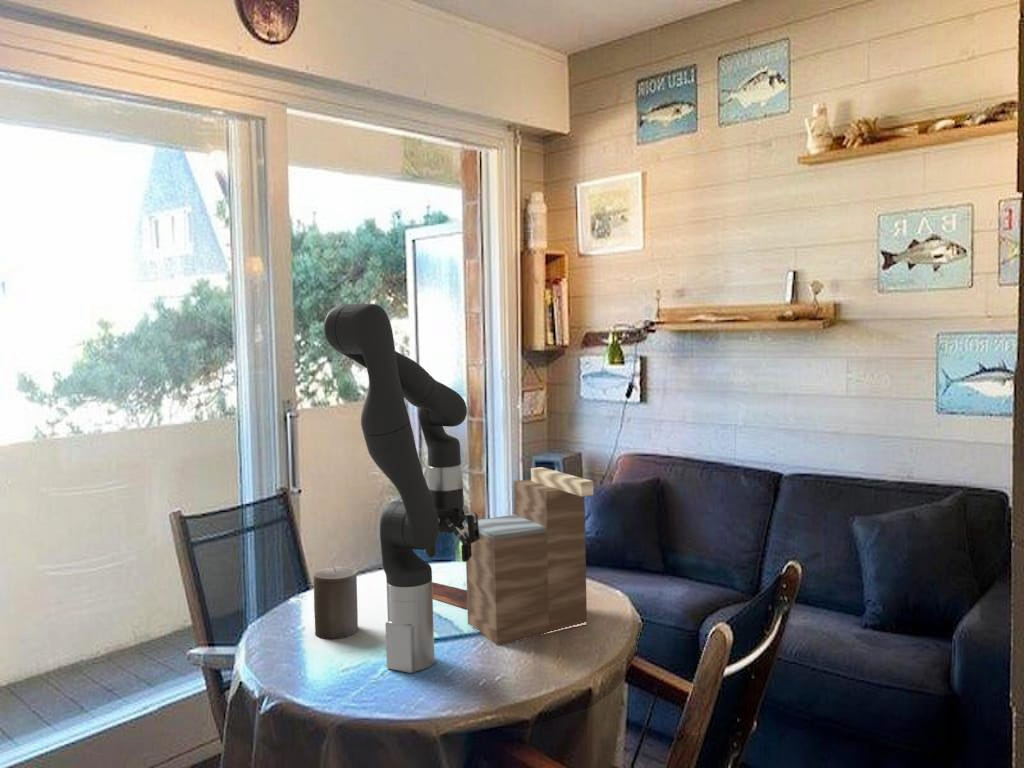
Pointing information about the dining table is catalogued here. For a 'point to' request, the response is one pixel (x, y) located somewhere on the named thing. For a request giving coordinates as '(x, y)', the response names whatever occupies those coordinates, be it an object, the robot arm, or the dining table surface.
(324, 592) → the pillar candle
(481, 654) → the dining table surface
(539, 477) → the maple rod
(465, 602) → the wooden tablet
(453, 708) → the dining table surface
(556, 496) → the block
